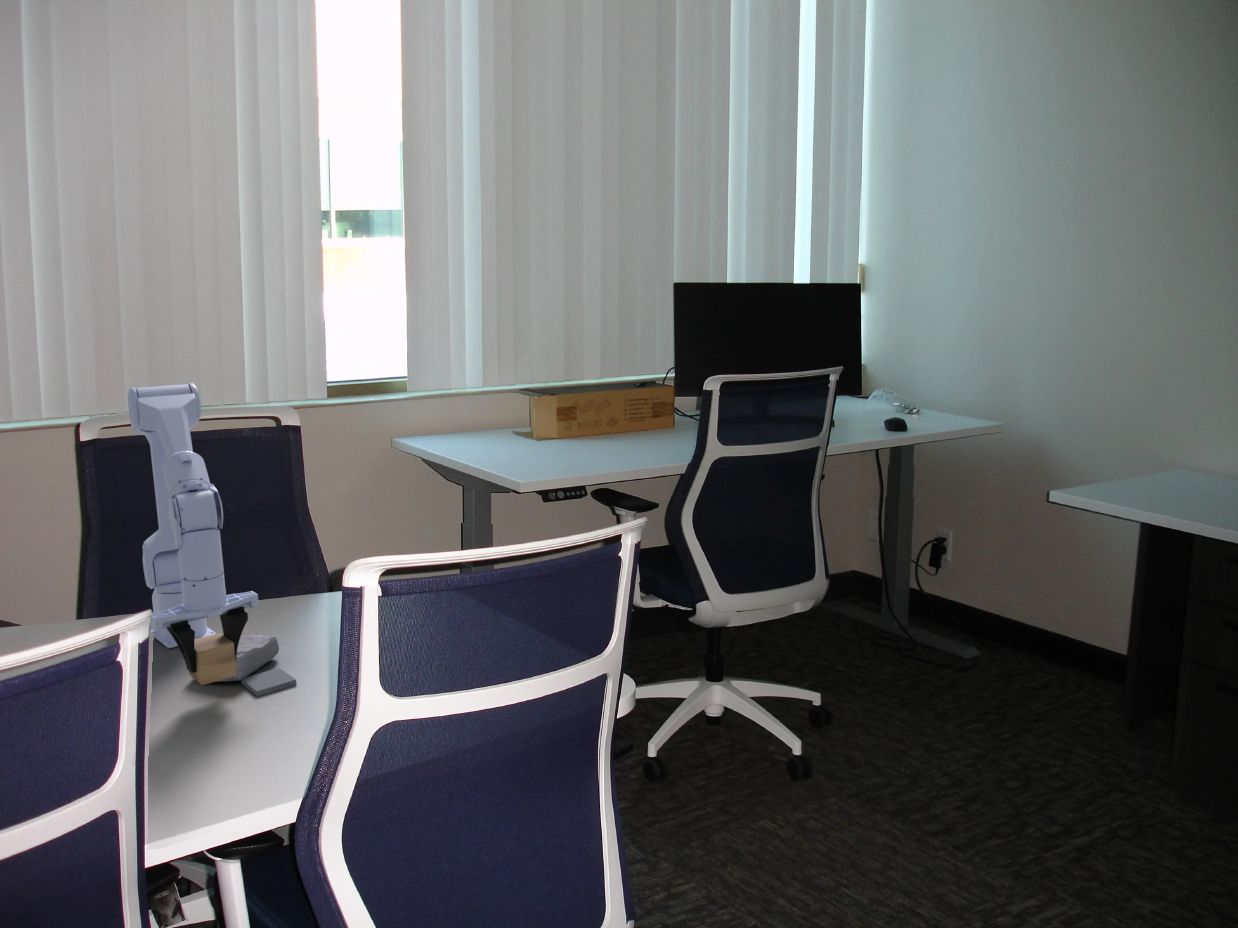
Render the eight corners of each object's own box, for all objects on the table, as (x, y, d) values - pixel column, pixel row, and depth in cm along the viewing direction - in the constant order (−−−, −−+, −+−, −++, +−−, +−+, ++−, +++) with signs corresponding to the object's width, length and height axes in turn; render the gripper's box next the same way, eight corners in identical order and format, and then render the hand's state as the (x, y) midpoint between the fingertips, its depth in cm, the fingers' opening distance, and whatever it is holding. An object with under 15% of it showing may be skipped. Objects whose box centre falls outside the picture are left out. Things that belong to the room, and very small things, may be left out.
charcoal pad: (241, 683, 157) (240, 678, 157) (279, 672, 161) (279, 667, 161) (257, 696, 153) (256, 691, 152) (296, 684, 156) (296, 679, 156)
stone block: (188, 693, 157) (244, 680, 155) (178, 663, 157) (234, 649, 154) (233, 666, 169) (286, 654, 166) (224, 638, 168) (277, 625, 166)
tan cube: (188, 674, 151) (185, 641, 150) (223, 664, 154) (220, 632, 153) (201, 685, 147) (198, 651, 146) (236, 675, 150) (233, 642, 149)
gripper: (158, 593, 140) (169, 688, 143) (263, 569, 149) (271, 659, 152) (141, 581, 145) (152, 672, 148) (244, 558, 154) (252, 645, 157)
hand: (211, 664), depth 150 cm, fingers closed on tan cube, 5 cm apart
